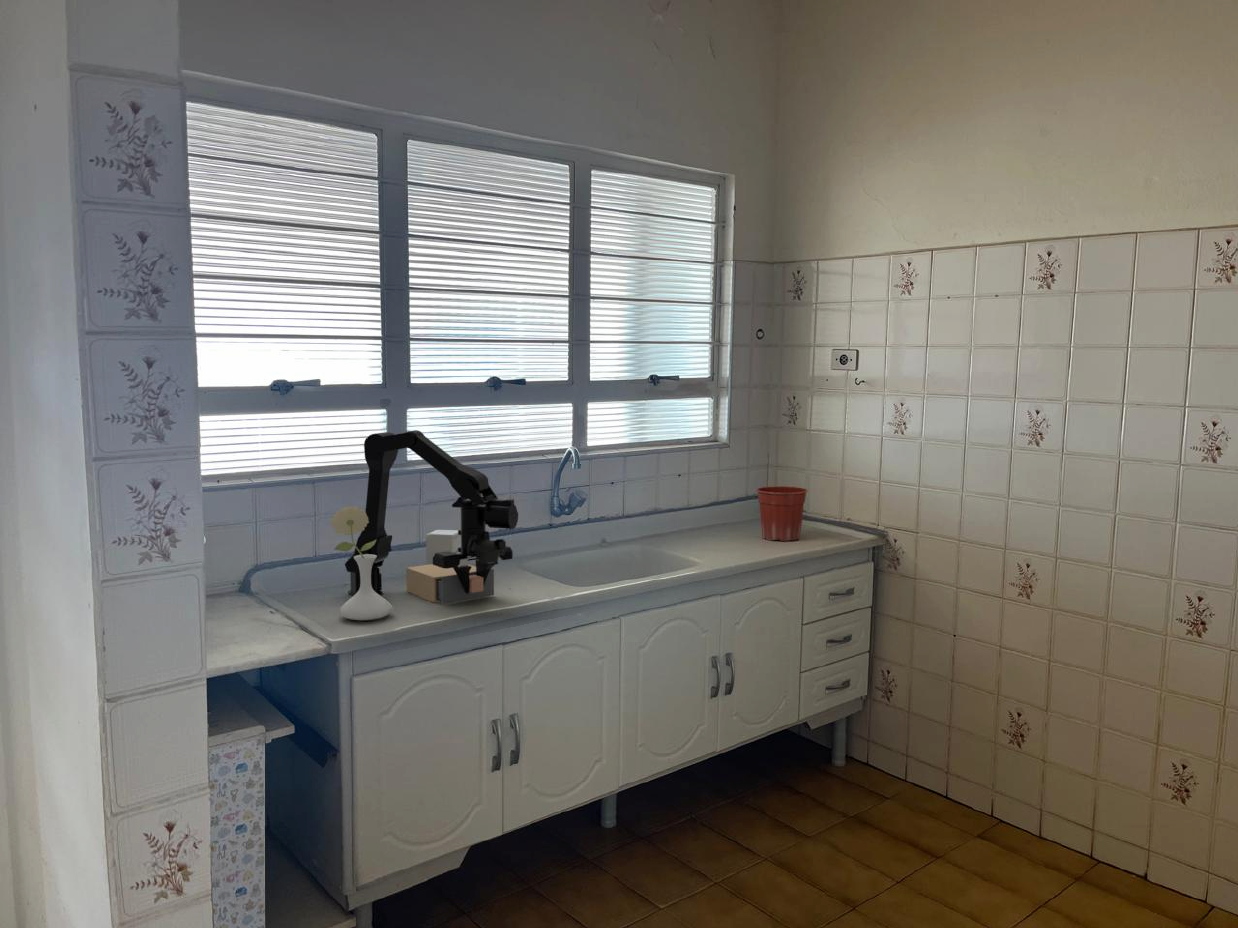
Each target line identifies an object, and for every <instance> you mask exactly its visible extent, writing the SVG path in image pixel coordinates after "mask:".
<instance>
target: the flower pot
mask: <svg viewBox="0 0 1238 928" xmlns="http://www.w3.org/2000/svg"><path fill="white" fill-rule="evenodd" d="M755 491H756V492H757V498H758V503H759V513H760V526H761V538H763V537H764V538H767V539H771V540H770V541H772V540H776V541H781V542H791V541H790V540H795V541H797V539H798V540H799V539H801V532H802V523H803V514H804V504H805V502H806V496H807V493H808V491H809V489H807V488H803V487H799V486H784V485H783V486H782V485H781V486H779V485H778V486H776V485H775V486H763V487H762V486H761V487H760V486H759V487H757V488H755ZM764 538H763V539H764ZM788 540H789V541H788Z"/></svg>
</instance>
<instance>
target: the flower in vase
mask: <svg viewBox="0 0 1238 928" xmlns="http://www.w3.org/2000/svg"><path fill="white" fill-rule="evenodd" d="M368 523H369V521H368V517H367V516H366V513H365V510H364V509H359V507H358V506H354V507H353V506H352V505H350V506H348V507H346V506H343V507H342V508H341V509H338V510H337V511H335V513H334V515H333V516H332V519H331V520H330V524H331V527H332V528H334V529H333V530H334V532H336V533H337V534H344V536H351V542H348V541H342V542H340V543H338V544H337V545H336V546H335V547H334V550H335V551H341V552H349V551H350V550H352V549H353V547H354V549H355V548H356V549H357V550H358V552H359V553H360V554H361V555H356V556H354V557H353V558H354V559H355V560H356V562H357V564H358V566H359V570H360V579H361V584H360V589H359V591H358V592H357V593H356V594H355V595H354V596H353V595H352V597H350V598H349V599H348V600H347V601H346V602H345V603H343V605H342V606H341V607H340V610H339V614H340V615H341V616H342V617H343V618H345V619H349V620H354V621H370V620H371V621H372V620H377V619H381V618H384V617H387V616H388V615H390V614H391V613H392V611H393V610H394V609H393V606H392V603H390V602H389V601H388V600H387V599H385V598H384V597H383V596H382V595H381V594H379V595H378V594H377V593H376V592H375V591H374V590H373V588H372V585H371V569H372V565H373V562H374V560H375V559H376V557H377V556H376V555H372V554H363V555H362V553H361V552H360V550H359V549H358V548H357V546H356V544H355V543H356V542H354V541H355V540H354V534H359V532H360V533H361V532H362V531H363V530H364V529H365V528H364V527H366V526H367V524H368ZM375 542H376V540H374V541H372V542H370V543H367V544H365V545H364V546H363V547H362V548H361V551H364V550H368V549H370V548H371V547H372V546H373V545H374V544H375Z"/></svg>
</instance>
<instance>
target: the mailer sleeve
mask: <svg viewBox="0 0 1238 928" xmlns="http://www.w3.org/2000/svg"><path fill="white" fill-rule="evenodd" d="M468 566H471V569H470V571H469V572H474V571H476V565H472V564H469V563H468ZM405 569H406V570H405V571H406V592H407V593H409V592H410V593H409V594H411V593H412V595H414V596H416V595H417V597H420V598H423V599H424V600H427V601H430V602H432V603H435V604H436V603H439V602H441V600H440V599H437V595H436V579H441V577H442V576H448V575H455V574H456V572H455V571H454V569H453V568H447V569H446V568H441V567H438V566H435V565H433V564H429V565H426V564H423V565H418V566H410V567H406V568H405Z"/></svg>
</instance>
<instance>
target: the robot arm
mask: <svg viewBox="0 0 1238 928" xmlns="http://www.w3.org/2000/svg"><path fill="white" fill-rule="evenodd" d="M403 449H410V450H411V451H412V452H413V453H415V454H416V455H417V456H418V457H420V458H421V459H422V460H423V461H425V462H426V463H427V464H428V465H430V466H431V467H433V468H434V469H435V470H437V471H438V473H440V474H441V475H443V476H444V477H445V478H446V479H447V481H448V482H449V484H450V486H451V488H452V489H453V490H454V491H455V492H456V493H457V494H458V495H459V497H458V498H457V499H456V501H455V502H453V503H452V504H451V508H459V509H460V529H459V530H458V535H461V547H459V548H458V552H461V554H455V553H452V552H449V551H447V552H439V553H435V555H434V557H433V565H435V566H438V567H441V568H446V569H447V568H453V569H454V571H455V572H456V574H457V576H458V578H459V580H460V582H461V584H462V586H463V589H464V591H465V593H467V594H468V593H469V588H470V585H469V571H470V569H471V566H468V564H469V562H470V561H475V567H476V573H477V576H480V577H483V587H484V584H485V582H486V579H487V576H488V573H489V571H490V569H493V567H495V566H496V565H498V564H499V558H500V560H501V561H506V560H507V561H508V560H512V559H514V554H513V553H514V551H513V549H512V548H511V547H510V546H508V545H507V544H506V543H507V542H506V540H505V539H503V538H500V539H498V538H497V539H494V540H491V538H490V532H489V531H488V530H487V529H486V527H487V526H488V527H489V528H491V529H504V530H505V529H507V530H514V529H515V528H516V527H517V524H518V522H519V521H518V520H519V512H518V509H517V506H516V505H515V500H514V499H512V498H509V499H499V497H498V496H497V495H496V493H495V492H494V491H493V489H492V487H491V486H490V484H489V478H488V477H487V475H486V474H484V473H483V472H481V471H479V470H477V469H475V468H474V467H470V466H468V465H464V464H463V463H461V462H459V461H458V460H456V459H455V458H454V457H452V456H451V455H450V454H448V453H447V452H446V451H445V450H444V449H442V448H441V447H439V445H437V444H436V443H435V442H434V441H432V440H431V439H429V438H428V437H427V436H425V434H424V433H423V432H422V431H420V430H416V429H415V430H413V429H412V430H408V431H405V432H401V433H396V434H394V433H393V432H390V431H386V432H385V431H384V432H377V433H372V434H370V435H368V436H367V437H365V440H364V444H363V450H364V451H363V452H364V460H365V462H366V465H367V467H368V481H367V489H366V490H367V491H366V499H365V500H366V501H365V510H364V511H365V513H366V516H367V517H368V521H369V523H368V524H367V526H366V527H364V528H365V529H364V530H363V531H360V534H359V536H358V538H357V540H356V542H355V543H356V544H355V545H356V546H357V548H358V549H359V550H360V552H361V553H362V555H363V554H372V555H376V556H377V557H376V559H375V560H374V562H373V565H372V569H371V585H372V588H373V590H374V591H375V592H376V593H377V594H378V595H383V594H384V591H382V590H383V589H382V588H383V584H382V583H383V582H382V580H383V579H382V576H383V575H382V573H380V572H381V571H380V569H381V568H380V567H383V564H384V561H385V560H386V558H388V556H389V555H390V552H392V540H393V535H392V534H387V531H386V529H385V523H386V516H387V515H386V513H387V512H386V511H387V504H388V491H389V483H390V482H389V481H390V472H391V470H392V467H393V465H394V464H395V461H396V459H397V457H398V453H399V450H403ZM486 525H487V526H486ZM374 540H376V542H375V544H374V545H373V546H372V547H371V548H370V549H368V550H364V551H361V548H362V547H363V546H364V545H365V544H367V543H370V542H372V541H374ZM356 555H361V554H360V553H359V552H358V550H357V549H356V548H355V547H354V551H353V554H352V555H351V557H349V559H348V560H346V562H345V563H344V566H345V570H346V572H347V573H349V575H350V577H349V578H350V590H348V591H347V593H348V595H352V597H353V596H354V595H355V594H356V593H357V592H358V591H359V589H360V584H361V579H360V570H359V566H358V564H357V562H356V560H355V559H354V558H353V557H354V556H356Z"/></svg>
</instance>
